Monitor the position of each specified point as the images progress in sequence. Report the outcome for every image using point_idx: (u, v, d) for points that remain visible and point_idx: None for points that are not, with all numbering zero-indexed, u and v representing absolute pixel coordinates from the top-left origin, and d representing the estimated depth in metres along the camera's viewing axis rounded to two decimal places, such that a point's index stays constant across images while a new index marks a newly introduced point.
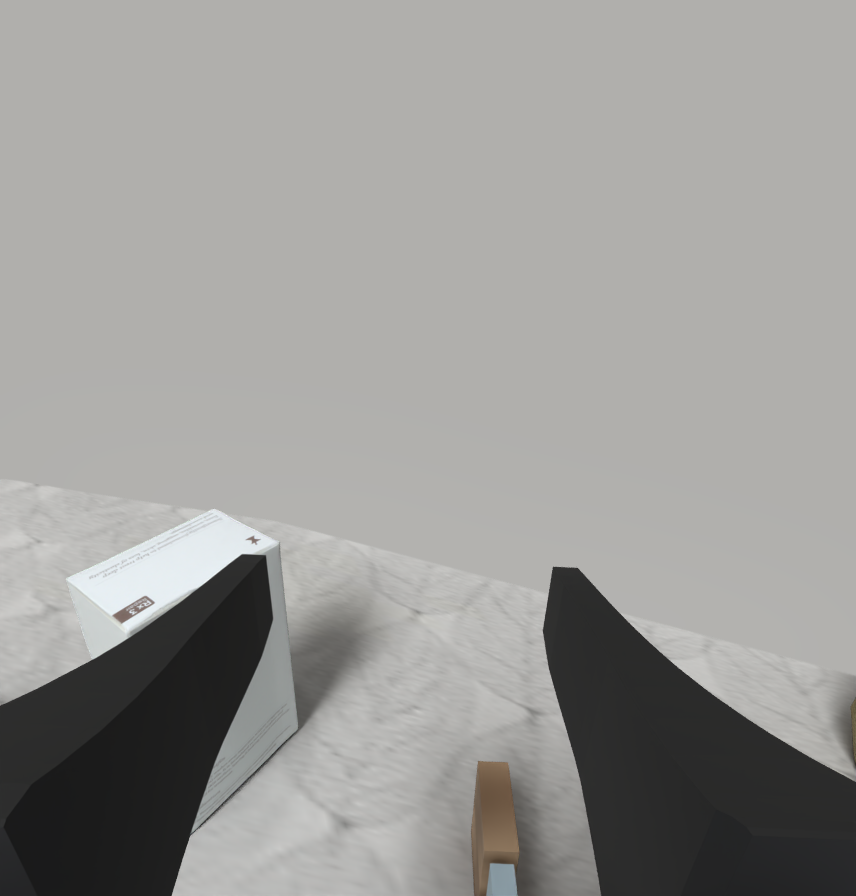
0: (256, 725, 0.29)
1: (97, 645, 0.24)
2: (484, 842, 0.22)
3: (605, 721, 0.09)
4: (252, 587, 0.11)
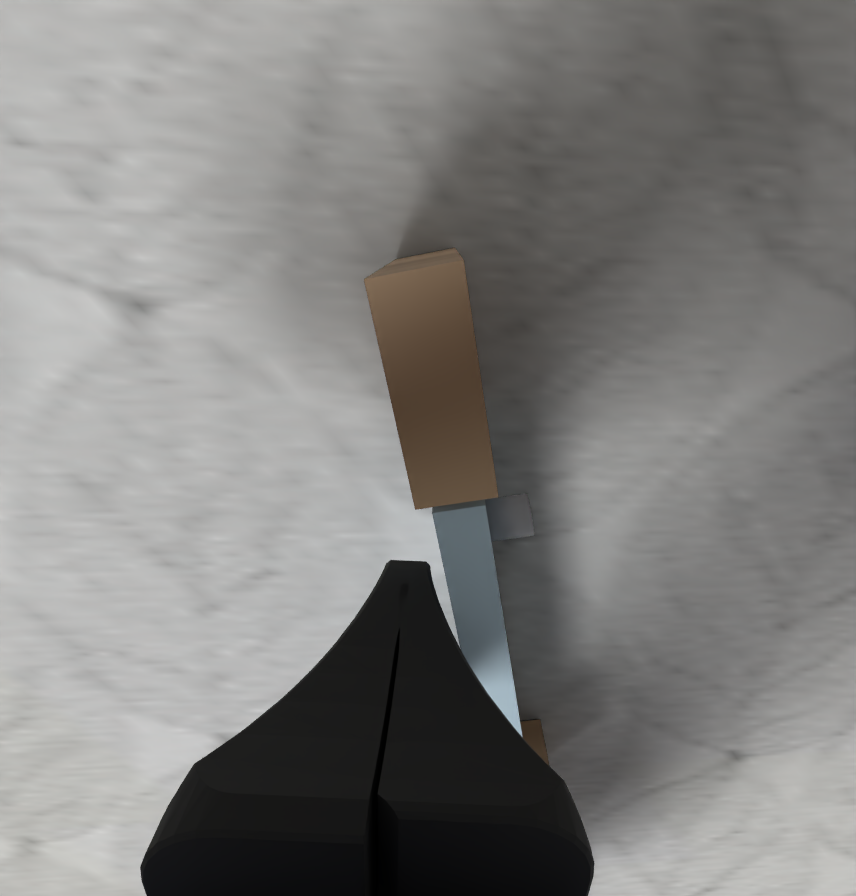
0: None
1: None
2: (413, 492, 0.09)
3: None
4: None
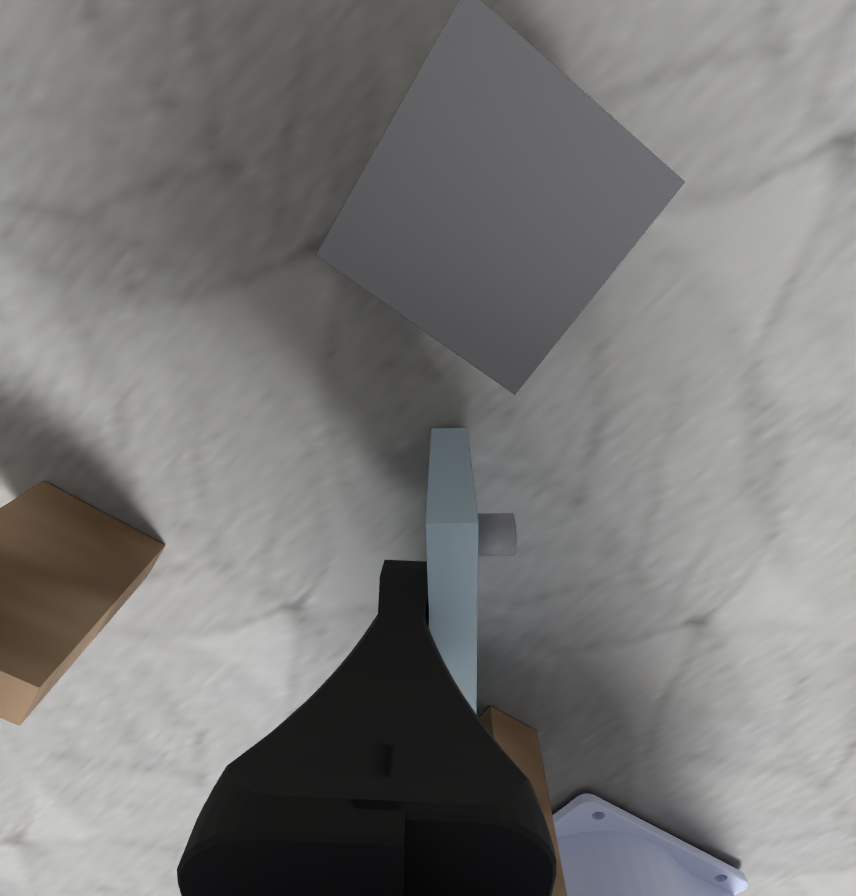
0: None
1: None
2: (6, 717, 0.12)
3: None
4: None
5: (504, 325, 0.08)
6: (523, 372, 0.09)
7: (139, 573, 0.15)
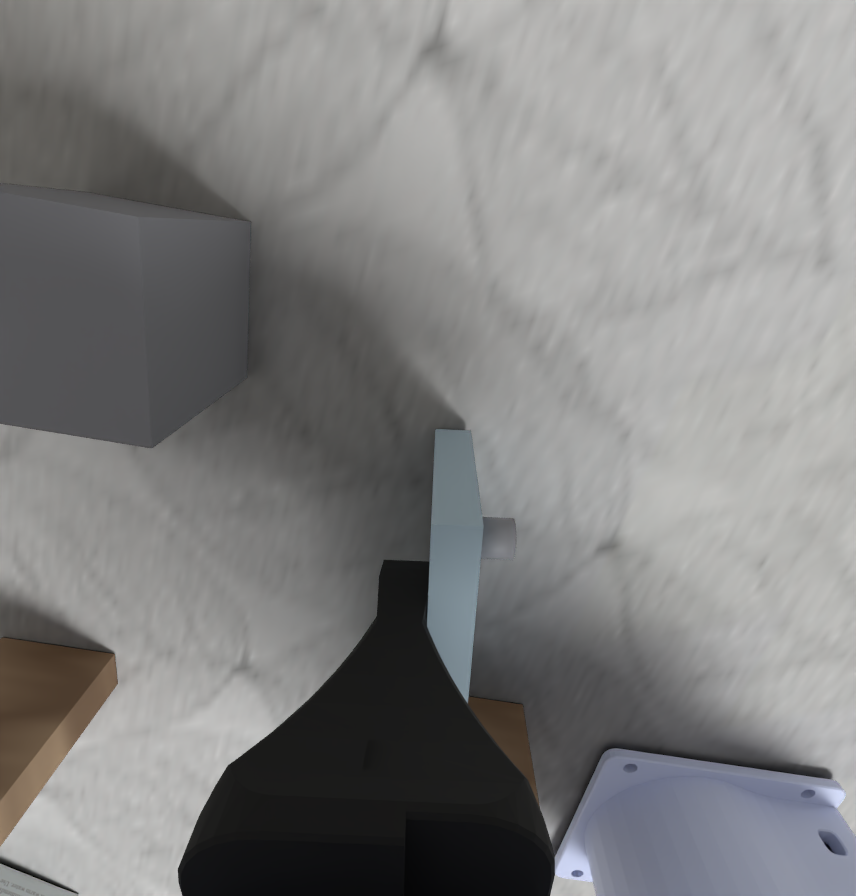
0: None
1: None
2: None
3: None
4: None
5: (100, 398, 0.09)
6: (143, 427, 0.09)
7: (88, 687, 0.17)
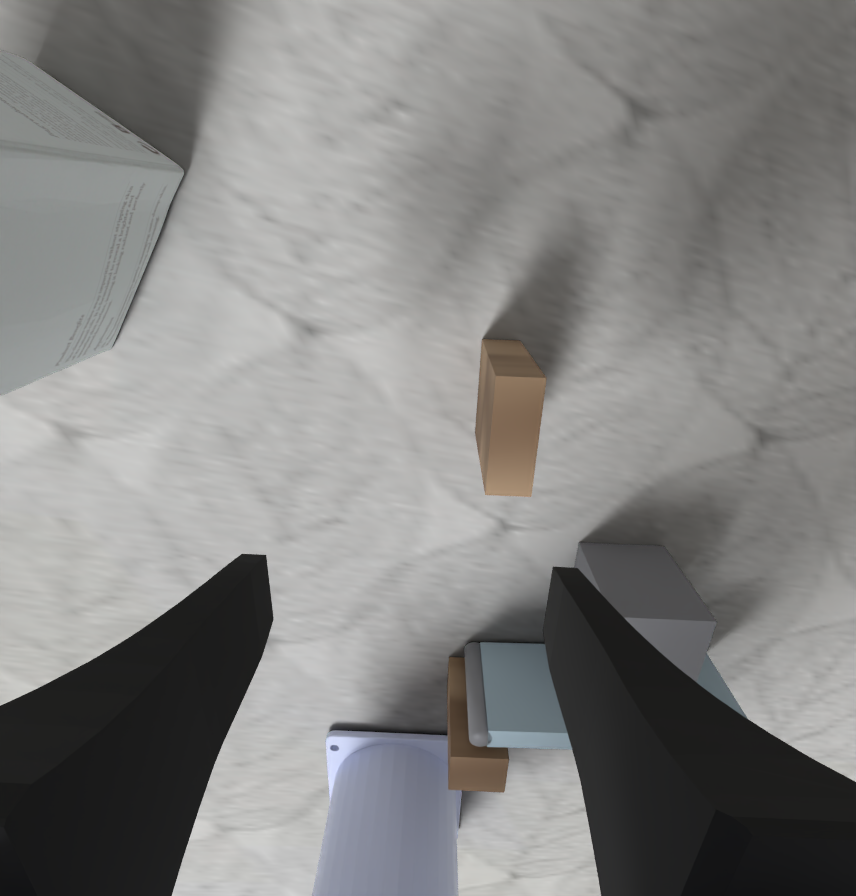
0: (99, 255, 0.16)
1: None
2: (487, 485, 0.16)
3: (605, 721, 0.09)
4: (252, 587, 0.11)
5: None
6: None
7: None
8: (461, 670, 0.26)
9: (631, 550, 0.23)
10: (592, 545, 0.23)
